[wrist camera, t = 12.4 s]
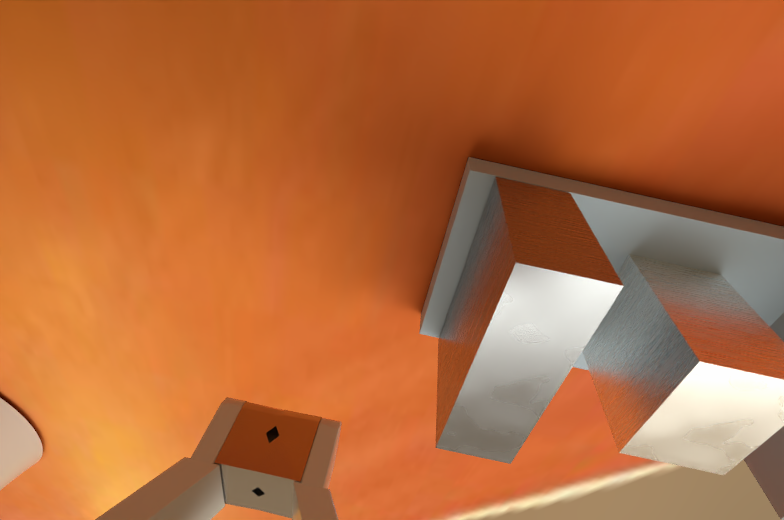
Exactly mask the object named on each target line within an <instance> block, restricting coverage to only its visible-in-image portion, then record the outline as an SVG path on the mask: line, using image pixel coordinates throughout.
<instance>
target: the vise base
mask: <svg viewBox="0 0 784 520" xmlns="http://www.w3.org/2000/svg"><path fill="white" fill-rule="evenodd" d="M495 177H499V178H504V179H508V180H513V181H517V182H522V183H526V184H531V185H535V186H540V187H544V188H549V189H553V190H558V191H562V192H567V193H571V195H572V197H573V199H574V200H575V202H576V204H577V205H578V207H579V209H580V211H581V212H582V214H583V216H584V218H585V219H586V221H587V223H588V225H589V226H590V228H591V230H592V231H593V233H594V235H595V237H596V238H597V240H598V242H599V244H600V245H601V247H602V249H603V251H604V252H605V254H606V256H607V257H608V259H609V261H610V263H611V264H612V266H613V268H614V270H615V271H616V273H617V272H618V271H619V269H620V268H621V266H622V264H623V263H624V261H625V259H626V258H627V256H628V255H629V254H630V255H635V256H639V257H644V258H649V259H653V260H658V261H662V262H667V263H671V264H676V265H680V266H685V267H689V268H694V269H699V270H703V271H708V272H712V273H717V274H721V275H722V276H723V277H724V278H725V279H726V280H727V281H728V283H729V284H730V285H731V286H732V287H733V288H734V289H735V290H736V291H737V292H738V293H739V294H740V295H741V296H742V298H743V299H744V300H745V301H746V302H747V303H748V304H749V305H750V306H751V307H752V308H753V309H754V310H755V312H756V313H757V314H758V315H759V316H760V317H761V318H762V319H763V320H764V321H765V322H766V323H767V324H768V325H769V327H770V328H771V329H772V330H773V331H774V332H775V333H776V334H777V335H778V336H779V337H780V338H781V339H782V341H783V342H784V227H783V226H779V225H774V224H770V223H765V222H761V221H756V220H752V219H747V218H743V217H738V216H734V215H729V214H724V213H720V212H715V211H711V210H706V209H702V208H697V207H693V206H688V205H684V204H679V203H675V202H670V201H666V200H661V199H657V198H652V197H648V196H643V195H639V194H634V193H630V192H625V191H621V190H616V189H612V188H607V187H603V186H598V185H594V184H589V183H585V182H580V181H576V180H571V179H566V178H562V177H557V176H553V175H548V174H544V173H539V172H535V171H530V170H526V169H521V168H517V167H512V166H508V165H503V164H499V163H494V162H490V161H485V160H481V159H476V158H472V157H468V160H467V164H466V167H465V170H464V174H463V177H462V180H461V184H460V187H459V190H458V194H457V197H456V200H455V204H454V207H453V210H452V214H451V217H450V220H449V223H448V227H447V230H446V233H445V237H444V240H443V243H442V247H441V250H440V253H439V257H438V260H437V263H436V267H435V270H434V273H433V277H432V280H431V283H430V286H429V290H428V293H427V296H426V300H425V303H424V306H423V310H422V313H421V322H420V334H424V335H428V336H433V337H437V338H439V337H440V334H441V331H442V328H443V325H444V322H445V319H446V317H447V314H448V311H449V308H450V305H451V302H452V299H453V296H454V294H455V291H456V288H457V285H458V282H459V279H460V276H461V274H462V271H463V268H464V265H465V262H466V259H467V256H468V254H469V251H470V248H471V245H472V242H473V239H474V236H475V234H476V231H477V228H478V225H479V222H480V219H481V216H482V213H483V211H484V208H485V205H486V202H487V199H488V196H489V193H490V191H491V188H492V185H493V182H494V179H495ZM573 367H576V368H581V369H585V370H589V369H588V366H587V363H586V360H585V357H584V355H583V352H582V353H581V354H580V356H579V357H578V359H577V360H576V362H575V364H574V365H573ZM744 461H745V462H746V464H747V465H748V467H749V469H750V470H751V472H752V473H753V475H754V477H755V478H756V480H757V482H758V483H759V485H760V486H761V488H762V489H763V491H764V493H765V494H766V496H767V498H768V499H769V501H770V503H771V504H772V506H773V507H774V509H775V511H776V512H777V514H778V515H779V517H780V519H783V520H784V426H783V427H782V428H781V429H779V430H778V431H777V432H776V433H775V434H773V435H772V436H771V437H770V438H768V439H767V440H766V441H765V442H764V443H762V444H761V445H760V446H759V447H758V448H756V449H755V450H754V451H753V452H752V453H750V454H749V455H748V456H747V457H745V458H744Z"/></svg>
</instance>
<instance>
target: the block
mask: <svg viewBox="0 0 784 520" xmlns="http://www.w3.org/2000/svg"><path fill="white" fill-rule="evenodd" d="M617 275H618V277H619V278H620V280H621V282H622V283H623V285H624V287H623V288H622V290H621V292H620V293H619V295H618V296H617V298H616V299H615V301H614V303H613V304H612V306H611V307H610V309H609V310H608V312H607V313H606V315H605V317H604V318H603V320H602V321H601V323H600V324H599V326H598V328H597V329H596V331H595V332H594V334H593V335H592V337H591V339H590V340H589V342H588V343H587V345H586V346H585V348H584V349H583V351H582V352H583V355H584V357H585V360H586V363H587V366H588V369H589V371H590V374H591V377H592V380H593V382H594V385H595V388H596V391H597V393H598V396H599V399H600V402H601V404H602V407H603V410H604V413H605V415H606V418H607V421H608V424H609V427H610V429H611V432H612V435H613V438H614V440H615V443H616V446H617V449H618V451H619V453H623V454H628V455H633V456H637V457H642V458H646V459H651V460H656V461H660V462H665V463H670V464H674V465H679V466H684V467H688V468H693V469H698V470H702V471H707V472H712V473H717V474H721V475H725V474H726V473H727V472H729V471H730V470H731V469H732V468H733V467H735V466H736V465H737V464H738V463H739V462H741V461H742V460H743V459H744V458H745V457H747V456H748V455H749V454H750V453H752V452H753V451H754V450H755V449H756V448H758V447H759V446H760V445H761V444H762V443H764V442H765V441H766V440H767V439H768V438H770V437H771V436H772V435H773V434H775V433H776V432H777V431H778V430H779V429H781V428H782V427H783V426H784V342H783V341H782V339H781V338H780V337H779V336H778V335H777V334H776V333H775V332H774V331H773V330H772V329H771V328H770V327H769V325H768V324H767V323H766V322H765V321H764V320H763V319H762V318H761V317H760V316H759V315H758V314H757V313H756V312H755V310H754V309H753V308H752V307H751V306H750V305H749V304H748V303H747V302H746V301H745V300H744V299H743V298H742V296H741V295H740V294H739V293H738V292H737V291H736V290H735V289H734V288H733V287H732V286H731V285H730V284H729V283H728V281H727V280H726V279H725V278H724V277H723V276H722V275H721V274H717V273H712V272H708V271H703V270H699V269H694V268H689V267H685V266H680V265H676V264H671V263H667V262H662V261H658V260H653V259H649V258H644V257H639V256H635V255H630V254H629V255H628V256H627V258H626V259H625V261H624V263H623V264H622V266H621V268H620V269H619V271H618V272H617Z"/></svg>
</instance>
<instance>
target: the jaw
mask: <svg viewBox="0 0 784 520" xmlns="http://www.w3.org/2000/svg"><path fill="white" fill-rule="evenodd" d="M623 287H624V285H623V283H622V282H621V280H620V278H619V277H618V275H617V273H616V271H615V270H614V268H613V266H612V264H611V263H610V261H609V259H608V257H607V256H606V254H605V252H604V251H603V249H602V247H601V245H600V244H599V242H598V240H597V238H596V237H595V235H594V233H593V231H592V230H591V228H590V226H589V225H588V223H587V221H586V219H585V218H584V216H583V214H582V212H581V211H580V209H579V207H578V205H577V204H576V202H575V200H574V199H573V197H572V195H571V193H567V192H562V191H558V190H553V189H549V188H544V187H540V186H535V185H531V184H526V183H522V182H517V181H513V180H508V179H504V178H499V177H495V179H494V182H493V185H492V188H491V191H490V193H489V196H488V199H487V202H486V205H485V208H484V211H483V213H482V216H481V219H480V222H479V225H478V228H477V231H476V234H475V236H474V239H473V242H472V245H471V248H470V251H469V254H468V256H467V259H466V262H465V265H464V268H463V271H462V274H461V276H460V279H459V282H458V285H457V288H456V291H455V294H454V296H453V299H452V302H451V305H450V308H449V311H448V314H447V317H446V319H445V322H444V325H443V328H442V331H441V334H440V337H439V343H438V380H437V417H436V448H439V449H444V450H449V451H453V452H458V453H463V454H467V455H472V456H477V457H481V458H486V459H491V460H495V461H500V462H505V463H509V464H511V462H512V461H513V459H514V457H515V456H516V454H517V453H518V451H519V450H520V448H521V447H522V445H523V443H524V442H525V440H526V439H527V437H528V436H529V434H530V432H531V431H532V429H533V428H534V426H535V425H536V423H537V421H538V420H539V418H540V417H541V415H542V414H543V412H544V411H545V409H546V407H547V406H548V404H549V403H550V401H551V400H552V398H553V396H554V395H555V393H556V392H557V390H558V389H559V387H560V385H561V384H562V382H563V381H564V379H565V378H566V376H567V375H568V373H569V371H570V370H571V368H572V367H573V365H574V364H575V362H576V360H577V359H578V357H579V356H580V354H581V353H582V351H583V349H584V348H585V346H586V345H587V343H588V342H589V340H590V339H591V337H592V335H593V334H594V332H595V331H596V329H597V328H598V326H599V324H600V323H601V321H602V320H603V318H604V317H605V315H606V313H607V312H608V310H609V309H610V307H611V306H612V304H613V303H614V301H615V299H616V298H617V296H618V295H619V293H620V292H621V290H622V288H623Z"/></svg>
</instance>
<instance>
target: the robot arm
mask: <svg viewBox="0 0 784 520" xmlns="http://www.w3.org/2000/svg"><path fill="white" fill-rule="evenodd" d="M340 430H341V422H340V421H335V420H330V419H325V418H322V417H318V416H313V415H308V414H303V413H298V412H293V411H288V410H282V409H277V408H272V407H268V406H263V405H259V404H254V403H249V402H247V401H242V400H237V399H233V398H228V397H227V398H226V399H225V400H224V401H223V402H222V403H221V405H220V406H219V408H218V410H217V412H216V414H215V415H214V417H213V419H212V421H211V423H210V424H209V426H208V428H207V430H206V432H205V433H204V435H203V437H202V439H201V440H200V442H199V444H198V446H197V448H196V449H195V451H194V453H193V455H192V457H191V458H186V457H184V458H183V459H181V460H180V461H178V462H177V463H176V464H174V465H173V466H171V467H170V468H168V469H167V470H166V471H164V472H163V473H161V474H160V475H158V476H157V477H156V478H154V479H153V480H151V481H150V482H148V483H147V484H146V485H144V486H143V487H141V488H140V489H138V490H137V491H136V492H134V493H133V494H131V495H130V496H128V497H127V498H126V499H124V500H123V501H121V502H120V503H118V504H117V505H116V506H114V507H113V508H111V509H110V510H108V511H107V512H105V513H104V514H103V515H101V516H100V517H98V518H97V519H95V520H211V519H212V518H213V517H214V516H215V515H216V514H217V513H218V512H219V511H220V510H221V509H222V508H223V507H224V506H225V504H230V505H236V506H241V507H246V508H251V509H256V510H261V511H265V512H269V513H273V514H277V515H281V516H285V517H289V518H292V520H338V517H337V513H336V510H335V506H334V503H333V499H332V496H331V492H330V489H328V487H329V483H330V479H331V475H332V471H333V467H334V462H335V458H336V453H337V448H338V442H339V436H340ZM42 454H43V447H42V443H41V440H40V438H39V436H38V434H37V433H36V431H35V430H34V428H33V427H32V426H31V425H30V423H29V422H28V421H27V420H26V419H25V418H24V417H23V416H22V415H21V414H20V413H19V412H18V411H17V410H15V409H14V408H13V407H12V406H11V405H9V404H8V403H7V402H5V401H4V400H3V399H1V398H0V490H1V489H3V488H4V487H5V486H6V485H8V484H9V483H10V482H11V481H13V480H14V479H15V478H16V477H18V476H19V475H20V474H22V473H23V472H24V471H26V470H27V469H28V468H30V467H31V466H33V465H34V464H35V463H37V462H38V461H39V460H40V459H41V457H42Z"/></svg>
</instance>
